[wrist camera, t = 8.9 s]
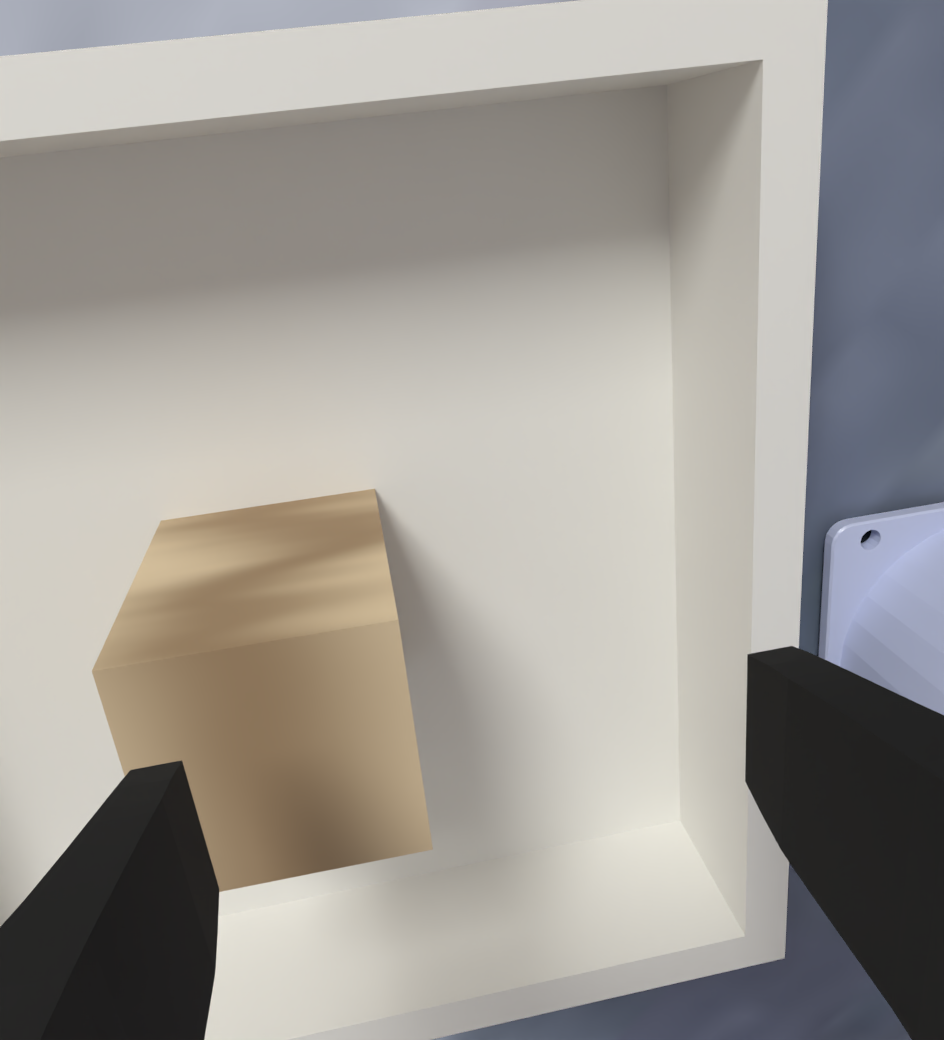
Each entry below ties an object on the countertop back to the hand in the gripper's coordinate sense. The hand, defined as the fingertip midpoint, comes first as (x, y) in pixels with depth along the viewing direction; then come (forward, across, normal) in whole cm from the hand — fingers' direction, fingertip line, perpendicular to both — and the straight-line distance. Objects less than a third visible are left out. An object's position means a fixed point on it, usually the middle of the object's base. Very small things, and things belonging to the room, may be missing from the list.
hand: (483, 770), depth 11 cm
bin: (+9, +3, +1) cm, 10 cm away
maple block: (+9, +3, +1) cm, 9 cm away
